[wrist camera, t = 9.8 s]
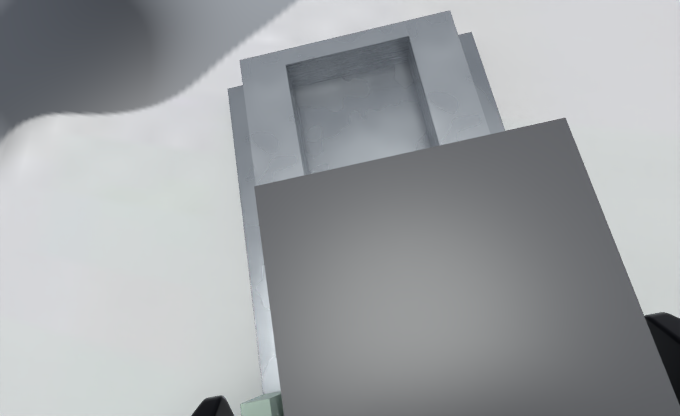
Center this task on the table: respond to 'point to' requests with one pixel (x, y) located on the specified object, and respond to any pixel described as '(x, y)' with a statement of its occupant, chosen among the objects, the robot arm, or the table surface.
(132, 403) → the table surface
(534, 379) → the tall gray pillar
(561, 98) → the table surface
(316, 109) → the slot rail
